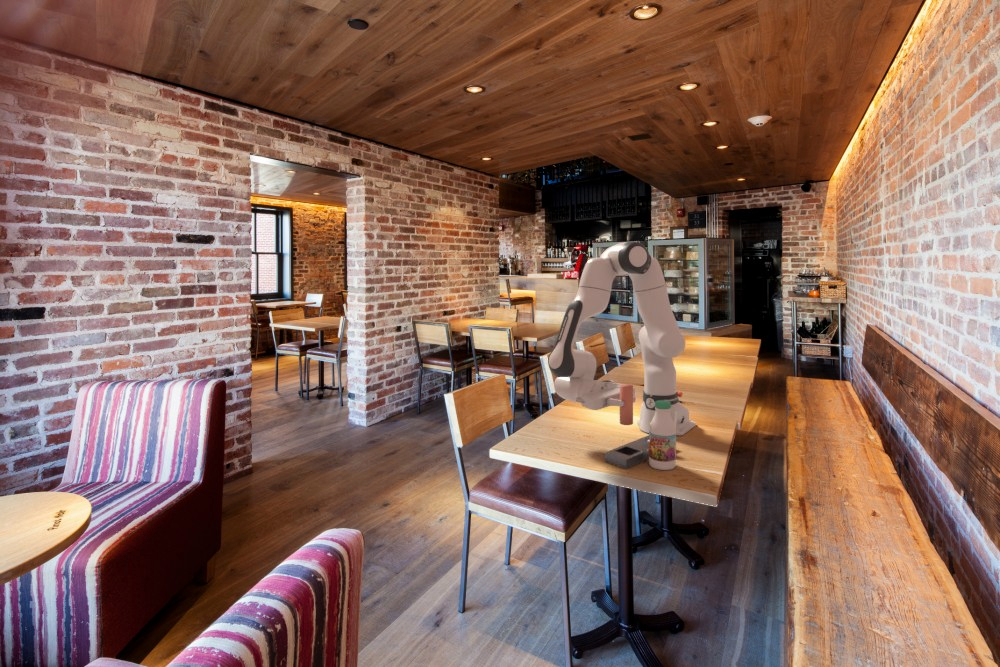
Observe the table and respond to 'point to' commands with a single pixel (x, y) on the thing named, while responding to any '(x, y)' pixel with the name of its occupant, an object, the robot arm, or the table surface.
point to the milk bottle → (662, 438)
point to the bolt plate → (629, 453)
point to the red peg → (626, 404)
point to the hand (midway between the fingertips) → (628, 401)
